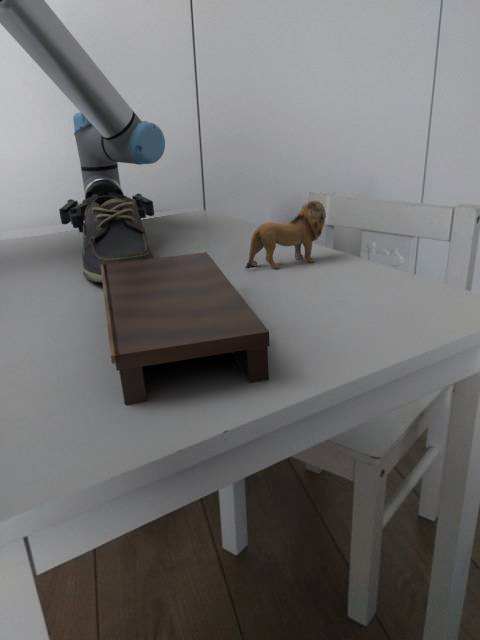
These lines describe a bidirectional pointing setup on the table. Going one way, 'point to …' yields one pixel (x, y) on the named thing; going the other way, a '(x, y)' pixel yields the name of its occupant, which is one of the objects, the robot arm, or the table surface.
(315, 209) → the lion figurine
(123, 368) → the shoe shelf
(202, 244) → the table surface
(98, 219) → the boat shoe
